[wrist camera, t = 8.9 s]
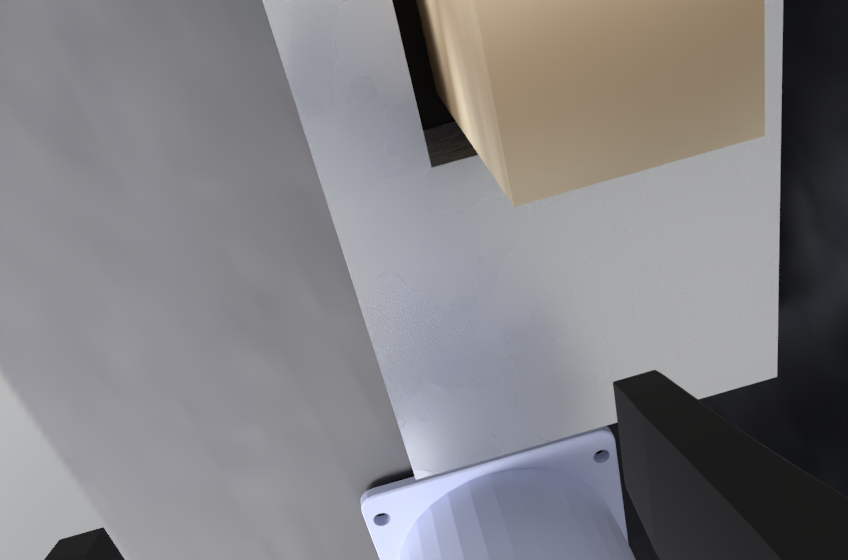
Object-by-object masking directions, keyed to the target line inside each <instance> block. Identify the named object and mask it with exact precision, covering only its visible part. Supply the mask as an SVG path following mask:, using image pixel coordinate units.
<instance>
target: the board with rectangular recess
mask: <svg viewBox="0 0 848 560" xmlns="http://www.w3.org/2000/svg"><path fill="white" fill-rule="evenodd" d="M262 1H263V4H264V7H265V10H266V13H267V16H268V19H269V22H270V26H271V29H272V32H273V35H274V38H275V41H276V44H277V47H278V51H279V54H280V57H281V60H282V63H283V66H284V69H285V72H286V76H287V79H288V82H289V85H290V88H291V91H292V94H293V97H294V101H295V104H296V107H297V110H298V113H299V116H300V119H301V122H302V126H303V129H304V132H305V135H306V138H307V141H308V144H309V147H310V151H311V154H312V157H313V160H314V163H315V166H316V169H317V172H318V176H319V179H320V182H321V185H322V188H323V191H324V194H325V197H326V201H327V204H328V207H329V210H330V213H331V216H332V219H333V222H334V226H335V229H336V232H337V235H338V238H339V241H340V244H341V247H342V251H343V254H344V257H345V260H346V263H347V266H348V269H349V273H350V276H351V279H352V282H353V285H354V288H355V291H356V294H357V298H358V301H359V304H360V307H361V310H362V313H363V316H364V319H365V323H366V326H367V329H368V332H369V335H370V338H371V341H372V344H373V348H374V351H375V354H376V357H377V360H378V363H379V366H380V369H381V373H382V376H383V379H384V382H385V385H386V388H387V391H388V394H389V398H390V401H391V404H392V407H393V410H394V413H395V416H396V419H397V423H398V426H399V429H400V432H401V435H402V438H403V441H404V444H405V448H406V451H407V454H408V457H409V460H410V463H411V466H412V469H413V473H414V476H415V479H416V480H417V479H421V478H424V477H428V476H431V475H435V474H438V473H442V472H445V471H449V470H452V469H456V468H459V467H463V466H467V465H470V464H474V463H477V462H481V461H484V460H488V459H491V458H495V457H498V456H502V455H505V454H509V453H512V452H516V451H519V450H523V449H526V448H530V447H533V446H537V445H540V444H544V443H547V442H551V441H554V440H558V439H561V438H565V437H568V436H572V435H575V434H579V433H582V432H586V431H589V430H593V429H596V428H600V427H603V426H607V425H610V424H614V423H617V413H616V405H615V396H614V388H613V382H614V381H617V380H621V379H624V378H628V377H631V376H635V375H638V374H642V373H645V372H649V371H652V370H657V371H658V372H660V373H662V374H663V375H665V376H666V377H668V378H669V379H670V380H672V381H673V382H674V383H676V384H677V385H679V386H680V387H681V388H683V389H684V390H685V391H687V392H688V393H690V394H691V395H692V396H694V397H695V398H697V399H701V398H705V397H708V396H712V395H715V394H719V393H722V392H726V391H729V390H733V389H736V388H740V387H743V386H747V385H750V384H754V383H757V382H761V381H764V380H768V379H771V378H775V377H777V357H778V295H779V234H780V173H781V111H782V50H783V0H764V23H765V136H762V137H759V138H755V139H752V140H748V141H745V142H741V143H738V144H734V145H731V146H727V147H724V148H720V149H717V150H713V151H710V152H706V153H703V154H699V155H696V156H692V157H688V158H685V159H681V160H678V161H674V162H671V163H667V164H664V165H660V166H657V167H653V168H650V169H646V170H643V171H639V172H636V173H632V174H629V175H625V176H622V177H618V178H614V179H611V180H607V181H604V182H600V183H597V184H593V185H590V186H586V187H583V188H579V189H576V190H572V191H569V192H565V193H562V194H558V195H555V196H551V197H548V198H544V199H540V200H537V201H533V202H530V203H526V204H523V205H519V206H516V207H514V206H513V205H512V203H511V202H510V200H509V199H508V197H507V196H506V194H505V193H504V191H503V190H502V189H501V187H500V186H499V184H498V183H497V181H496V180H495V178H494V177H493V175H492V174H491V172H490V171H489V169H488V168H487V166H486V165H485V163H484V162H483V161H482V159H481V158H480V156H479V155H478V153H477V152H476V150H475V149H474V147H473V146H472V144H471V143H470V141H469V140H468V138H467V137H466V135H465V134H464V132H463V131H462V130H461V128H460V127H459V125H458V124H457V122H456V121H455V122H452V123H448V124H444V125H441V126H437V127H433V128H430V129H426V130H423V129H422V125H421V120H420V116H419V112H418V108H417V103H416V99H415V95H414V91H413V86H412V82H411V78H410V74H409V69H408V65H407V61H406V57H405V53H404V48H403V44H402V40H401V36H400V31H399V27H398V23H397V19H396V14H395V10H394V6H393V2H392V0H262Z"/></svg>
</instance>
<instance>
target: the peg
mask: <svg viewBox="0 0 848 560" xmlns="http://www.w3.org/2000/svg"><path fill="white" fill-rule="evenodd" d="M416 4H417V9H418V13H419V17H420V22H421V26H422V30H423V35H424V39H425V44H426V48H427V52H428V57H429V61H430V65H431V70H432V74H433V79H434V83H435V87H436V92H437V94H438V96H439V97H440V99H441V100H442V102H443V103H444V104H445V106H446V107H447V109H448V110H449V112H450V113H451V115H452V116H453V118H454V119H455V121H456V122H457V124H458V125H459V127H460V128H461V130H462V131H463V132H464V134H465V135H466V137H467V138H468V140H469V141H470V143H471V144H472V146H473V147H474V149H475V150H476V152H477V153H478V155H479V156H480V158H481V159H482V161H483V162H484V163H485V165H486V166H487V168H488V169H489V171H490V172H491V174H492V175H493V177H494V178H495V180H496V181H497V183H498V184H499V186H500V187H501V189H502V190H503V191H504V193H505V194H506V196H507V197H508V199H509V200H510V202H511V203H512V205H513V206H514V207H516V206H519V205H523V204H526V203H530V202H533V201H537V200H540V199H544V198H548V197H551V196H555V195H558V194H562V193H565V192H569V191H572V190H576V189H579V188H583V187H586V186H590V185H593V184H597V183H600V182H604V181H607V180H611V179H614V178H618V177H622V176H625V175H629V174H632V173H636V172H639V171H643V170H646V169H650V168H653V167H657V166H660V165H664V164H667V163H671V162H674V161H678V160H681V159H685V158H688V157H692V156H696V155H699V154H703V153H706V152H710V151H713V150H717V149H720V148H724V147H727V146H731V145H734V144H738V143H741V142H745V141H748V140H752V139H755V138H759V137H762V136H765V23H764V0H416Z"/></svg>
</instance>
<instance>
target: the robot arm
mask: <svg viewBox="0 0 848 560" xmlns="http://www.w3.org/2000/svg"><path fill="white" fill-rule="evenodd" d="M613 388H614V396H615V405H616V413H617V422H618V430H619V439H620V447H621V456H622V464H623V472H624V481H625V487H626V489H627V491H628V493H629V495H630V498H631V500H632V502H633V504H634V507H635V509H636V511H637V513H638V515H639V518H640V520H641V522H642V524H643V526H644V529H645V531H646V533H647V535H648V537H649V539H650V541H651V543H652V546H653V548H654V550H655V552H656V554H657V555H658V557H659V559H660V560H848V497H847V496H846V495H844V494H842V493H840V492H839V491H837V490H835V489H834V488H832V487H830V486H828V485H827V484H825V483H823V482H822V481H820V480H819V479H817V478H815V477H814V476H812V475H810V474H809V473H807V472H805V471H804V470H802V469H801V468H799V467H798V466H796V465H794V464H793V463H791V462H790V461H788V460H787V459H785V458H784V457H782V456H780V455H779V454H777V453H776V452H774V451H773V450H771V449H770V448H768V447H766V446H765V445H763V444H762V443H760V442H759V441H757V440H756V439H754V438H753V437H751V436H750V435H748V434H747V433H745V432H744V431H742V430H741V429H739V428H738V427H736V426H735V425H734V424H732V423H731V422H729V421H728V420H726V419H725V418H723V417H722V416H721V415H719V414H718V413H716V412H715V411H713V410H712V409H711V408H709V407H708V406H706V405H705V404H704V403H702V402H701V401H699V400H698V399H697V398H695V397H694V396H692V395H691V394H690V393H688V392H687V391H685V390H684V389H683V388H681V387H680V386H679V385H677V384H676V383H674V382H673V381H672V380H670V379H669V378H668V377H666V376H665V375H663V374H662V373H660V372H658V371H657V370H652V371H649V372H645V373H642V374H638V375H635V376H631V377H628V378H624V379H621V380H617V381H614V382H613ZM600 450H603V451H602V452H601V453H599V454H595V453H596V452H598V451H600ZM360 501H361V510H362V514H363V516H364V519H365V522H366V524H367V527H368V530H369V532H370V535H371V537H372V540H373V543H374V545H375V548H376V550H377V553H378V556H379V558H380V560H636V559H635V557H634V555H633V553H632V551H631V549H630V547H629V544H628V536H627V529H626V521H625V513H624V505H623V498H622V490H621V482H620V474H619V467H618V459H617V451H616V443H615V438H614V436H613V434H612V432H611V430H610V428H608V427H607V426H603V427H600V428H596V429H593V430H589V431H586V432H582V433H579V434H575V435H572V436H568V437H565V438H561V439H558V440H554V441H551V442H547V443H544V444H540V445H537V446H533V447H530V448H526V449H523V450H519V451H516V452H512V453H509V454H505V455H502V456H498V457H495V458H491V459H488V460H484V461H481V462H477V463H474V464H470V465H467V466H463V467H459V468H456V469H452V470H449V471H445V472H442V473H438V474H435V475H431V476H428V477H424V478H421V479H417V480H416V479H415V476H414V477H410V478H407V479H403V480H400V481H396V482H393V483H389V484H386V485H382V486H379V487H375V488H372V489H370V490H367V491H366V492H365V493H364V494H363V495H362V497H361V499H360ZM380 513H386V514H385V515H383V516H376V515H378V514H380ZM45 560H125V559H124V558H123V557H122V555H121V553H120V552H119V550H118V549H117V547H116V546H115V544H114V543H113V541H112V540H111V538H110V537H109V535H108V534H107V532H106V531H105V529H104V528H100V529H96V530H93V531H89V532H86V533H82V534H79V535H75V536H72V537H68V538H65V539H61V540H59V541H58V543H57V544H56V545H55V547H54V548H53V549H52V550H51V552H50V553H49V554H48V556H47V557H46V558H45Z"/></svg>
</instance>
